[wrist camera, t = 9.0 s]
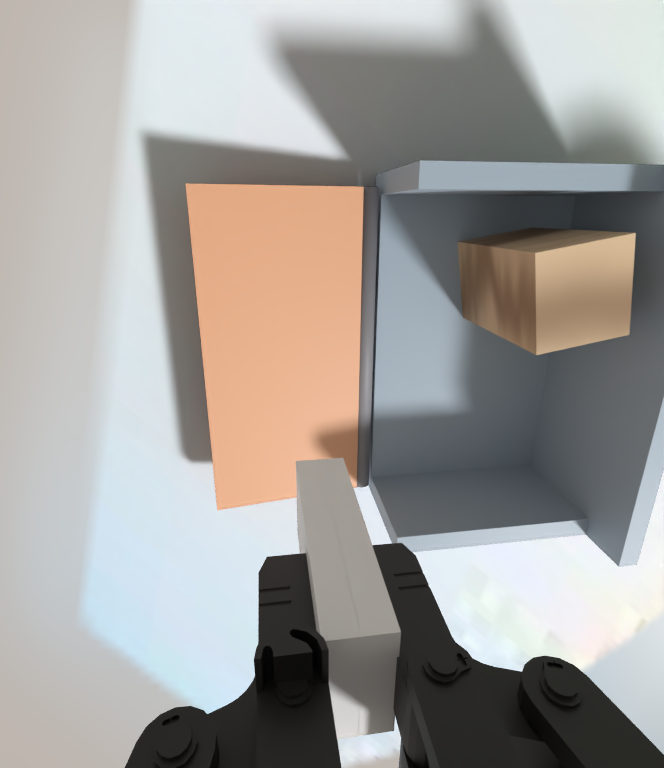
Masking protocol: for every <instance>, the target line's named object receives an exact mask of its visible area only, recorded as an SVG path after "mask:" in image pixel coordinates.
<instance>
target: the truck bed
mask: <svg viewBox="0 0 664 768" xmlns="http://www.w3.org/2000/svg"><path fill="white" fill-rule="evenodd" d="M376 187H379V193H378V224H377V254H376V284H375V314H374V344H373V374H372V404H371V434H370V465H369V484H368V485H369V487H370V490H371V492H372V495H373V497H374V500H375V502H376V505H377V507H378V510H379V512H380V515H381V517H382V519H383V522H384V524H385V527H386V529H387V532H388V534H389V537H390V539H391V542H392V544H393V543H403V544H404V545H405V546H406V547H407V548H408V549H409V550H410V551H411V552H419V551H429V550H439V549H449V548H458V547H468V546H478V545H488V544H497V543H507V542H517V541H527V540H536V539H546V538H556V537H566V536H575V535H585V534H586V535H587V536H588V537H589V538H590V539H591V540H592V541H593V542H594V543H595V544H596V545H597V546H598V547H599V548H600V549H601V550H602V551H603V552H604V553H605V554H606V555H607V556H608V557H610V558H611V559H612V560H613V561H614V562H615V563H616V564H617V565H618V566H619V567H620V566H629V565H637V563H638V559H639V555H640V552H641V548H642V545H643V541H644V538H645V534H646V530H647V527H648V523H649V520H650V516H651V513H652V509H653V505H654V502H655V498H656V495H657V491H658V488H659V484H660V481H661V477H662V473H663V470H664V165H647V164H592V163H536V162H481V161H425V160H420V161H417V162H414V163H411V164H408V165H404V166H401V167H398V168H395V169H392V170H389V171H386V172H383V173H380V174H377V175H376ZM531 227H534V228H553V229H572V230H591V231H610V232H629V233H636V238H635V254H634V270H633V286H632V301H631V317H630V333H629V335H626V336H622V337H617V338H613V339H608V340H604V341H599V342H594V343H590V344H585V345H581V346H576V347H572V348H567V349H563V350H558V351H553V352H549V353H544V354H540V355H535V354H533V353H531V352H529V351H527V350H525V349H523V348H521V347H520V346H518V345H516V344H514V343H512V342H510V341H508V340H506V339H504V338H502V337H500V336H498V335H496V334H494V333H492V332H490V331H488V330H486V329H484V328H482V327H480V326H478V325H476V324H474V323H472V322H471V321H469V320H467V319H465V318H463V311H462V297H461V283H460V269H459V254H458V242H460V241H465V240H470V239H475V238H480V237H485V236H490V235H495V234H500V233H505V232H510V231H515V230H520V229H526V228H531Z"/></svg>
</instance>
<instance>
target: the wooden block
mask: <svg viewBox="0 0 664 768" xmlns="http://www.w3.org/2000/svg"><path fill="white" fill-rule="evenodd" d="M635 238H636V233H629V232H610V231H591V230H572V229H553V228H534V227H531V228H526V229H520V230H515V231H510V232H505V233H500V234H495V235H490V236H485V237H480V238H475V239H470V240H465V241H460V242H458V254H459V269H460V283H461V297H462V311H463V318H465V319H467V320H469V321H471V322H472V323H474V324H476V325H478V326H480V327H482V328H484V329H486V330H488V331H490V332H492V333H494V334H496V335H498V336H500V337H502V338H504V339H506V340H508V341H510V342H512V343H514V344H516V345H518V346H520V347H521V348H523V349H525V350H527V351H529V352H531V353H533V354H535V355H540V354H544V353H549V352H553V351H558V350H563V349H567V348H572V347H576V346H581V345H585V344H590V343H594V342H599V341H604V340H608V339H613V338H617V337H622V336H626V335H629V333H630V317H631V301H632V286H633V270H634V254H635Z"/></svg>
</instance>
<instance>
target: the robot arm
mask: <svg viewBox="0 0 664 768" xmlns="http://www.w3.org/2000/svg"><path fill="white" fill-rule="evenodd" d="M296 486H297V522H298V539H299V548H300V554H292V555H282V556H272V557H267V558H266V560H265V562H264V564H263V566H262V567H261V569H260V571H259V643H258V646H257V649H256V653H255V657H254V666H255V678H254V680H253V682H252V683H251V685H250V686H249V688H248V689H247V690H246V691H245V692H244V693H243V694H242V695H241V696H240V697H239V698H238V699H236V700H235V701H233V702H231V703H230V704H228V705H226V706H224V707H222V708H220V709H218V710H216V711H214V712H211V713H209V714H206V713H205V711H204V710H201V709H198V708H195V707H192V706H186V707H176V708H173V709H171V710H169V711H167V712H165V713H163V714H161V715H159V716H158V717H157V718H156V719H155V720H153V721H152V722H151V723H150V724H149V725H148V726H147V727H146V728H145V730H144V731H143V733H142V734H141V736H140V737H139V739H138V741H137V742H136V744H135V747H134V749H133V751H132V753H131V755H130V758H129V760H128V762H127V764H126V766H125V768H341V763H340V756H339V749H338V742H337V739H342V738H349V737H355V736H362V735H369V734H375V733H382V732H388V731H394V721H395V716H396V720H397V724H398V728H399V731H400V735H401V747H400V760H399V768H664V755H663V754H662V753H661V752H660V751H659V750H658V748H656V746H655V745H654V744H653V743H652V742H651V741H650V740H649V739H648V738H647V737H646V736H645V735H644V734H643V733H642V732H641V731H640V730H639V729H638V728H637V727H636V726H635V725H634V724H633V723H632V722H631V721H630V720H629V719H628V718H627V717H626V716H625V715H624V713H622V711H621V710H620V709H619V708H618V707H617V706H616V705H615V704H614V703H613V702H612V701H611V700H610V699H609V698H608V697H607V696H606V695H605V694H604V693H603V692H602V691H601V690H600V689H599V688H598V687H597V686H596V685H595V684H594V683H593V682H592V681H591V680H590V678H589V677H587V675H585V674H584V673H583V672H582V671H580V670H579V669H578V668H577V667H575V666H574V665H572V664H570V663H568V662H566V661H564V660H562V659H560V658H555V657H550V656H541V657H535V658H532V659H531V660H530V661H528V662H527V663H526V664H525V665H524V668H523V671H522V672H520V671H514V670H509V669H503V668H498V667H493V666H489V665H486V664H483V663H481V662H479V661H477V660H474V659H473V658H472V657H471V656H470V654H469V653H468V652H467V651H466V650H465V649H464V648H462V647H461V646H460V645H458V644H457V643H455V641H454V639H453V638H452V636H451V634H450V631H449V629H448V627H447V625H446V623H445V620H444V618H443V616H442V614H441V611H440V609H439V607H438V605H437V602H436V600H435V598H434V596H433V593H432V591H431V589H430V587H429V586H428V582H427V580H426V578H425V576H424V574H423V572H422V569H421V567H420V564H419V562H418V560H417V558H416V556H415V555H414V554H413V553H412V552H411V551H410V550H409V549H408V548H407V547H406V546H405V545H404V544H403V543H393V544H383V545H372V543H371V540H370V537H369V534H368V531H367V528H366V525H365V522H364V519H363V516H362V513H361V510H360V507H359V504H358V501H357V498H356V495H355V492H354V489H353V486H352V483H351V480H350V477H349V474H348V471H347V468H346V465H345V462H344V459H343V458H332V459H318V460H303V461H296Z"/></svg>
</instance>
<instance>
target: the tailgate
mask: <svg viewBox="0 0 664 768" xmlns="http://www.w3.org/2000/svg"><path fill="white" fill-rule="evenodd" d="M378 193H379V187H356V186H300V185H243V184H187V183H186V194H187V205H188V215H189V225H190V235H191V245H192V256H193V266H194V276H195V286H196V297H197V307H198V317H199V327H200V337H201V348H202V358H203V368H204V378H205V389H206V399H207V409H208V419H209V429H210V440H211V450H212V460H213V470H214V481H215V491H216V501H217V510H222V509H228V508H234V507H240V506H246V505H252V504H258V503H264V502H270V501H276V500H283V499H289V498H295V497H297V486H296V461H303V460H318V459H332V458H343V459H344V462H345V465H346V468H347V471H348V474H349V477H350V480H351V483H352V486H353V488H356V487H366V486H367V485H368V484H369V465H370V434H371V404H372V374H373V344H374V314H375V284H376V254H377V224H378Z"/></svg>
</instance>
